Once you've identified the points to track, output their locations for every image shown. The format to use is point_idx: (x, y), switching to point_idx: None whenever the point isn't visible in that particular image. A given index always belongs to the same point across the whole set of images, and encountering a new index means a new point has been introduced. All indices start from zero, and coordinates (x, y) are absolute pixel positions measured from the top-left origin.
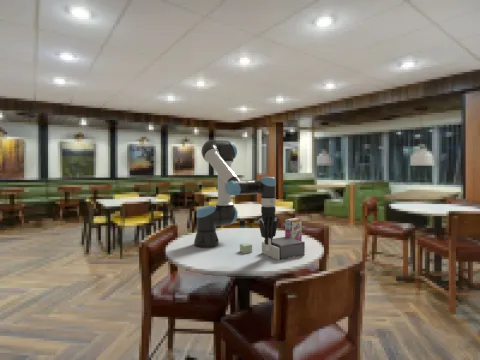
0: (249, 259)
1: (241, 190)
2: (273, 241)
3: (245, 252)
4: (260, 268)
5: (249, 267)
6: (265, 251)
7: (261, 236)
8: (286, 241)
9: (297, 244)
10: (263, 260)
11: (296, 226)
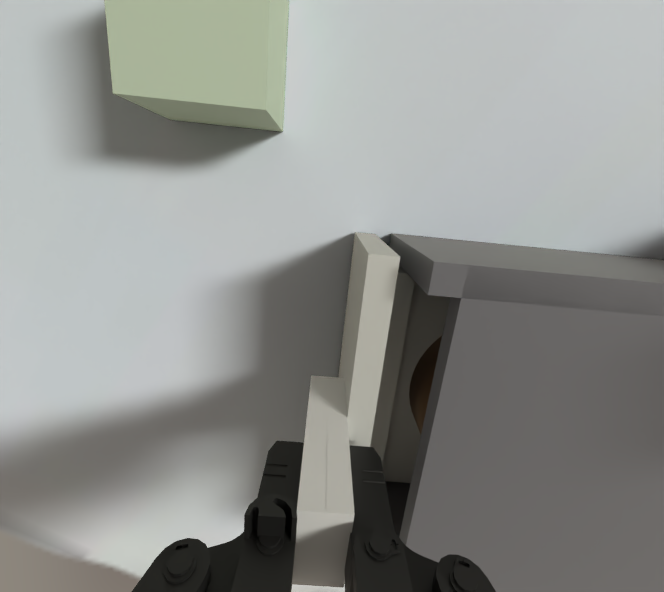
0: (120, 330)
1: None
2: (475, 423)
3: (181, 119)
4: (100, 524)
5: (32, 475)
6: (348, 313)
7: (160, 554)
8: (613, 516)
9: None
10: (220, 417)
11: None
